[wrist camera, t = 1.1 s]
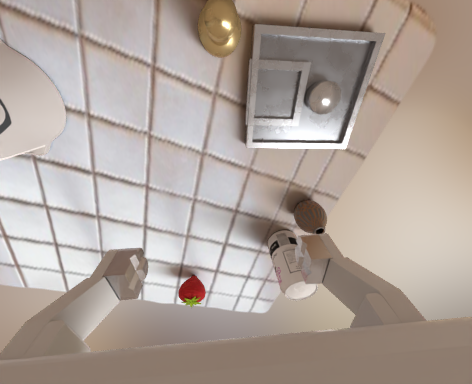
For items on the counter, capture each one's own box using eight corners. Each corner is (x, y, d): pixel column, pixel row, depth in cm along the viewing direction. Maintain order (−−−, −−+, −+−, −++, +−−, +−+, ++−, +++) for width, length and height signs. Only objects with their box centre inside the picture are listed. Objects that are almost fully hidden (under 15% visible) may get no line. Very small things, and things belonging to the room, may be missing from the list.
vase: (292, 221, 50) (305, 246, 43) (288, 200, 47) (302, 224, 39) (318, 214, 50) (335, 238, 42) (316, 192, 46) (336, 215, 39)
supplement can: (301, 240, 54) (326, 290, 42) (276, 253, 57) (293, 306, 44) (286, 223, 51) (310, 274, 38) (261, 239, 53) (275, 291, 40)
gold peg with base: (200, 56, 30) (194, 49, 22) (198, 5, 27) (189, -27, 19) (238, 58, 31) (246, 52, 23) (240, 8, 28) (250, -21, 19)
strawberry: (183, 267, 56) (177, 302, 48) (208, 270, 58) (206, 304, 49) (180, 280, 59) (173, 314, 51) (204, 282, 61) (202, 316, 52)
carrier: (242, 144, 38) (245, 150, 35) (250, 27, 29) (253, 21, 26) (339, 145, 40) (349, 151, 37) (375, 35, 31) (392, 31, 28)
